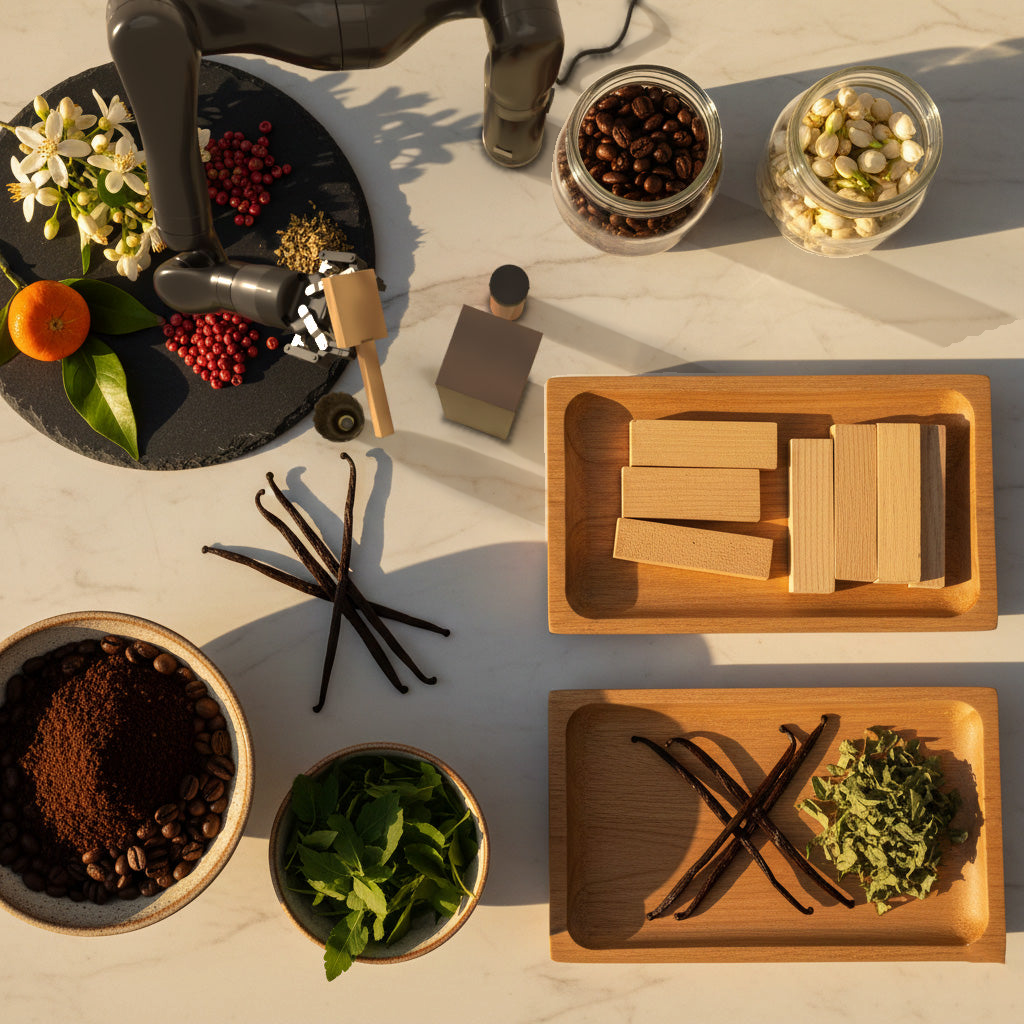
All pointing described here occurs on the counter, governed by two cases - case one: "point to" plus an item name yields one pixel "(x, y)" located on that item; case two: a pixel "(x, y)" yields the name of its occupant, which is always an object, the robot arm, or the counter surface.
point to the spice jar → (506, 310)
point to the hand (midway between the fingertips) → (370, 318)
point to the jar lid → (509, 285)
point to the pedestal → (486, 370)
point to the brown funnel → (338, 417)
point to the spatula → (361, 335)
